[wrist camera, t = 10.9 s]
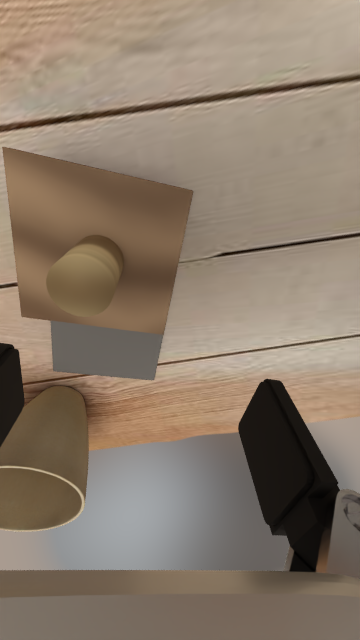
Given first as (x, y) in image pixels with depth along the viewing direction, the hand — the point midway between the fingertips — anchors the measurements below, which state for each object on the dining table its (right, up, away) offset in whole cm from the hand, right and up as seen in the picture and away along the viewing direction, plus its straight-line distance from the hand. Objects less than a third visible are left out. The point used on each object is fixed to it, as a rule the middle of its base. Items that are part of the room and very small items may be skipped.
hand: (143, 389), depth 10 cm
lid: (-5, +8, +12) cm, 15 cm away
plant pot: (-19, -11, +34) cm, 40 cm away
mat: (-9, +1, +28) cm, 29 cm away
